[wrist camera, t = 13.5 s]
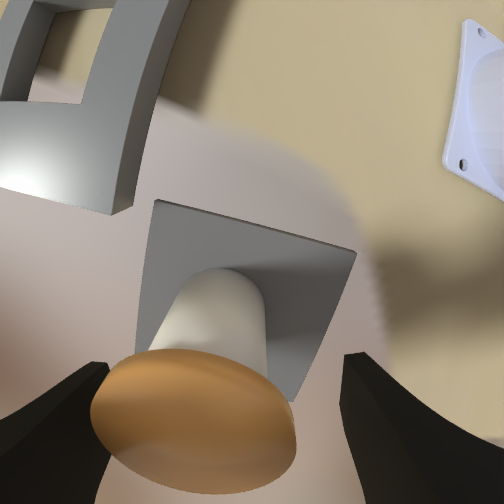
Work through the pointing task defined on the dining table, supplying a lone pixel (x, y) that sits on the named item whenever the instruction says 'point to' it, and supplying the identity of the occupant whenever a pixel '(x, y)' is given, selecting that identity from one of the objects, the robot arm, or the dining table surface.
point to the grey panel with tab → (83, 103)
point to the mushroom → (200, 395)
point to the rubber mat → (257, 270)
